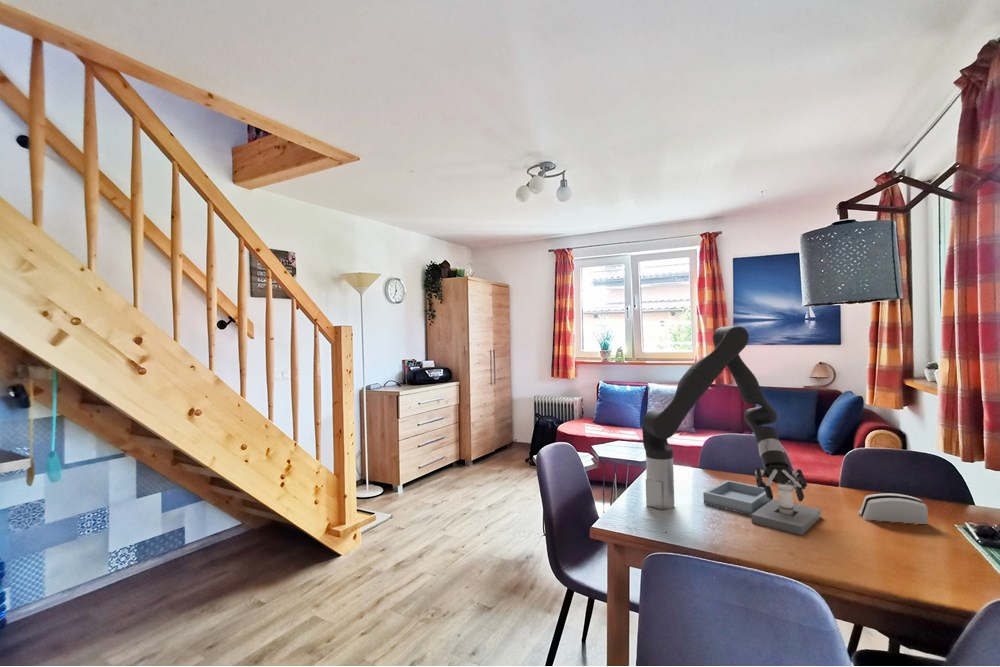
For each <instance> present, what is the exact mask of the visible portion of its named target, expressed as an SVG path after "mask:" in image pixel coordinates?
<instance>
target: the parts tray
mask: <svg viewBox="0 0 1000 667" xmlns="http://www.w3.org/2000/svg"><path fill="white" fill-rule="evenodd" d="M771 490H772V494H773V493H774V492H773V488H771ZM702 494H703V504H704V503H707V504H706V505H708V504H711V505H710V506H712V505H715V506H714V507H716V506H719V507H718V508H720V507H723V508H722V509H724V508H727V509H726V510H728V509H731V510H730V511H732V510H735V511H734V512H736V511H738V512H737V513H740V512H742V513H741V514H744V513H745V515H748V516H751V514H752V513H754V512H755V511H757V510H758V509H759V508H761V507H762V506H764V505H765V504H767V503H768V502H769V501H771V500H770V499H769V498H767V496H766V492H765V489H764V488H762V487H758V486H757V485H753V484H748V483H742V482H738V481H733V480H728V479H726V480H724V481H722V482H720V483H719V484H717V485H715V486H713V487H710V488H709V489H707V490H705V491H703V493H702Z"/></svg>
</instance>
